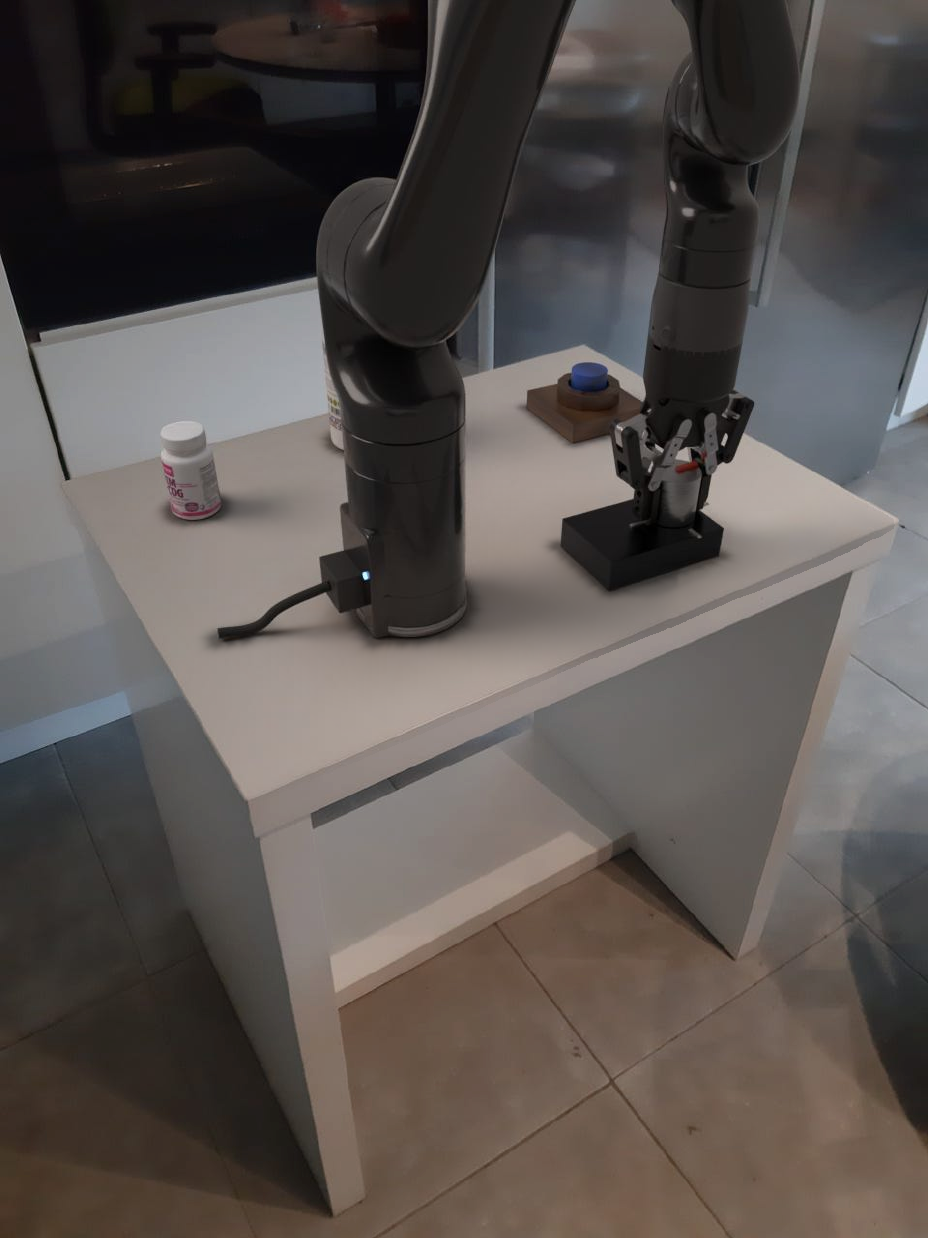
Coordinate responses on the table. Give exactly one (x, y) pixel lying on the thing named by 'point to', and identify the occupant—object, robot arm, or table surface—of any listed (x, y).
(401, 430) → the robot arm
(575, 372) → the button
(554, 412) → the button block
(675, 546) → the panel
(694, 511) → the knob
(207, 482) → the pill bottle
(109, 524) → the table surface
